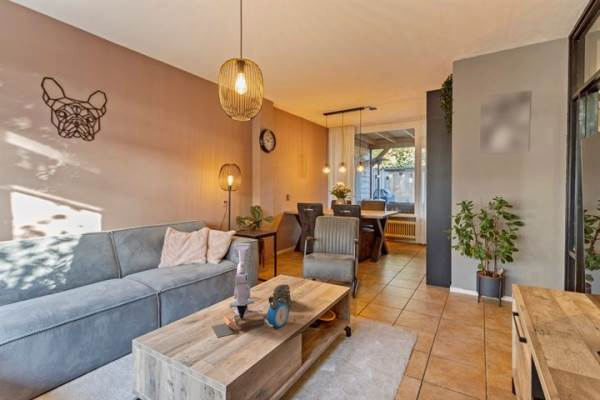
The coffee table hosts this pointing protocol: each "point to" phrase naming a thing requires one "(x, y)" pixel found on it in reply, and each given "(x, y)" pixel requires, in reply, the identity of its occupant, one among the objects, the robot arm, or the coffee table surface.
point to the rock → (281, 294)
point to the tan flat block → (249, 321)
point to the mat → (224, 330)
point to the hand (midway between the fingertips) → (241, 317)
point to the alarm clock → (278, 313)
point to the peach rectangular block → (230, 323)
